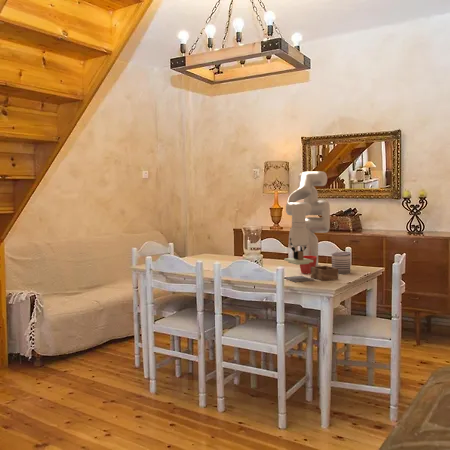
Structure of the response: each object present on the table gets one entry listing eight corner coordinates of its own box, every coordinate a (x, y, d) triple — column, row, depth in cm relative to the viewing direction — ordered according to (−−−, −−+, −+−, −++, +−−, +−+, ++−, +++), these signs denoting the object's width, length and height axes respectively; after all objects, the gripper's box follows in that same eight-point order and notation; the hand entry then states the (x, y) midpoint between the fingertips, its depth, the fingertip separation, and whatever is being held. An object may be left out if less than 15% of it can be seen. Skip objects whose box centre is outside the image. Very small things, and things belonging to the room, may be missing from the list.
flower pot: (295, 272, 311) (295, 256, 311) (311, 270, 315) (311, 255, 314) (303, 274, 301) (303, 258, 301) (320, 273, 305) (320, 257, 304)
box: (310, 277, 293) (310, 266, 293) (326, 276, 297) (326, 265, 296) (322, 281, 282) (322, 270, 281) (338, 279, 285) (338, 268, 285)
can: (353, 274, 302) (353, 253, 301) (334, 274, 301) (334, 254, 300) (347, 271, 313) (347, 251, 312) (329, 271, 313) (329, 251, 312)
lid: (284, 262, 291) (284, 250, 290) (301, 261, 295) (301, 249, 294) (295, 265, 279) (295, 252, 278) (313, 264, 283) (313, 251, 282)
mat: (283, 278, 292) (283, 277, 292) (301, 276, 297) (301, 275, 297) (295, 282, 279) (295, 281, 279) (314, 280, 284) (314, 279, 284)
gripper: (308, 224, 292) (307, 257, 293) (282, 225, 286) (282, 258, 287) (314, 225, 285) (314, 258, 286) (288, 226, 279) (288, 260, 280)
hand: (298, 258), depth 287 cm, fingers closed on lid, 2 cm apart
